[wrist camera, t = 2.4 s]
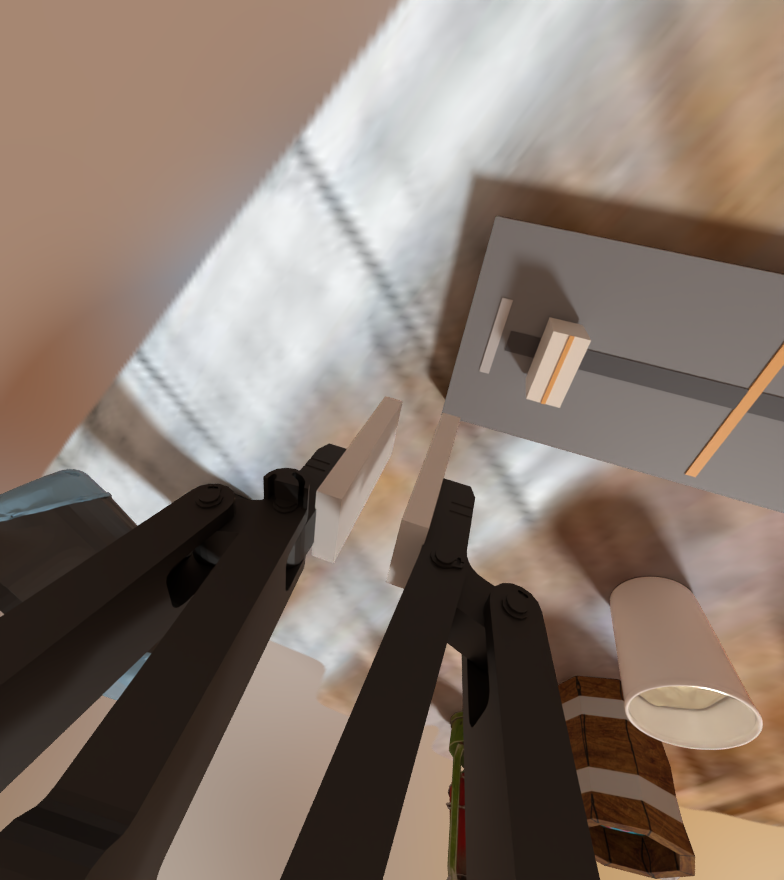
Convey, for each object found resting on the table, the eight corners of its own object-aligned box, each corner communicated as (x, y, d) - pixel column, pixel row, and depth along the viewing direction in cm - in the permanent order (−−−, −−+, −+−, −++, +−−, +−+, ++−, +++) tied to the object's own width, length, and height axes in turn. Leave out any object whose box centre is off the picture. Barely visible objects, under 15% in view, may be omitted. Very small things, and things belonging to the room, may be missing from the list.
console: (446, 401, 38) (437, 424, 33) (497, 215, 29) (494, 216, 25) (780, 495, 33) (816, 535, 29) (960, 310, 24) (1050, 330, 20)
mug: (531, 682, 56) (535, 815, 44) (626, 668, 49) (662, 821, 37) (600, 755, 61) (621, 894, 48) (696, 751, 54) (749, 913, 41)
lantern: (528, 750, 66) (532, 1072, 41) (473, 749, 71) (449, 1035, 47) (488, 703, 62) (468, 1028, 38) (434, 706, 67) (385, 992, 43)
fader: (525, 378, 31) (526, 399, 27) (549, 317, 28) (553, 331, 25) (555, 386, 31) (559, 408, 27) (582, 325, 28) (591, 340, 24)
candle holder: (640, 556, 40) (679, 669, 30) (728, 598, 40) (797, 726, 30) (583, 604, 46) (601, 712, 36) (660, 641, 45) (699, 761, 35)
